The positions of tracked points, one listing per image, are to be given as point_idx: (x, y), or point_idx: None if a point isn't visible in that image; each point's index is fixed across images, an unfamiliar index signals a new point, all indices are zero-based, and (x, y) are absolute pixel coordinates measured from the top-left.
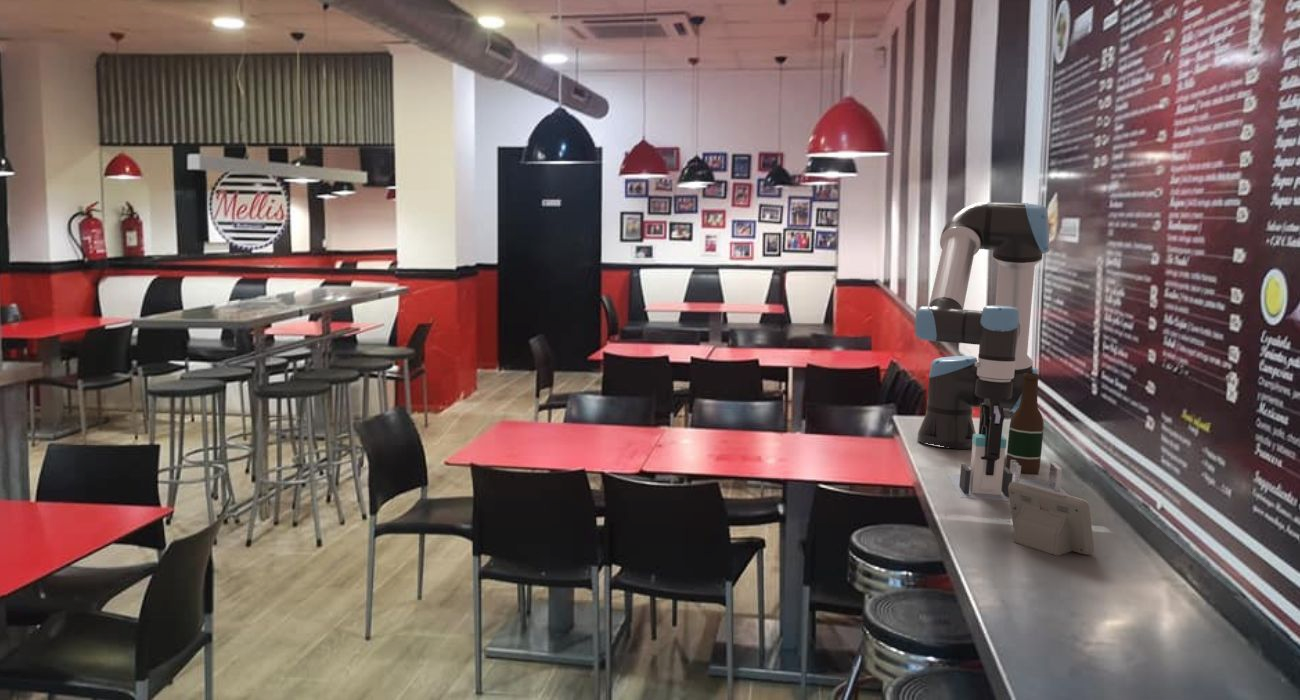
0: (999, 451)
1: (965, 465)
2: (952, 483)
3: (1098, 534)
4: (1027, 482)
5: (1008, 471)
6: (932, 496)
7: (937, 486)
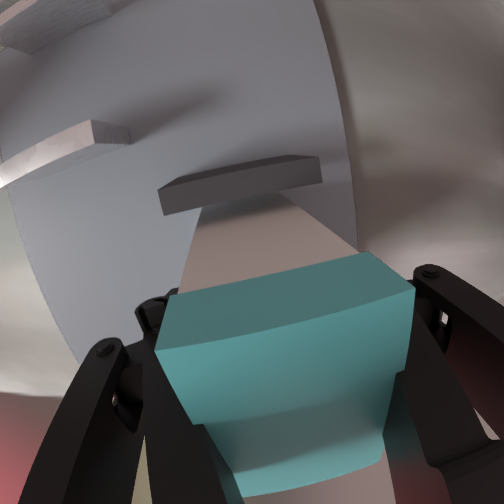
0: (468, 286)
1: None
2: None
3: (467, 12)
4: (29, 117)
5: (271, 178)
6: None
7: None
